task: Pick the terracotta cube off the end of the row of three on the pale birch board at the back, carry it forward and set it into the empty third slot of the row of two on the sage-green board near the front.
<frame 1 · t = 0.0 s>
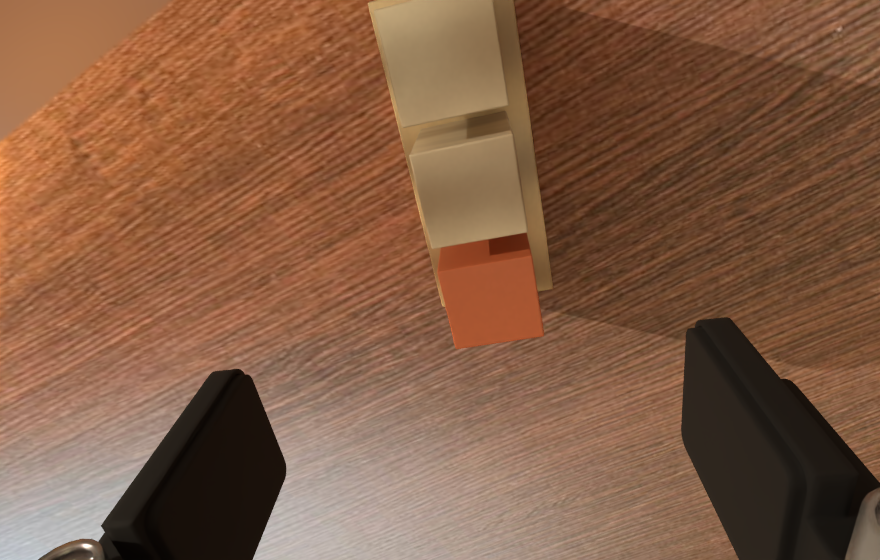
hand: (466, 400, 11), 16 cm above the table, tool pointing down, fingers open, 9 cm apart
terracotta cube: (489, 256, 27), point 1 cm above the table, touching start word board
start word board: (470, 158, 26), on the table
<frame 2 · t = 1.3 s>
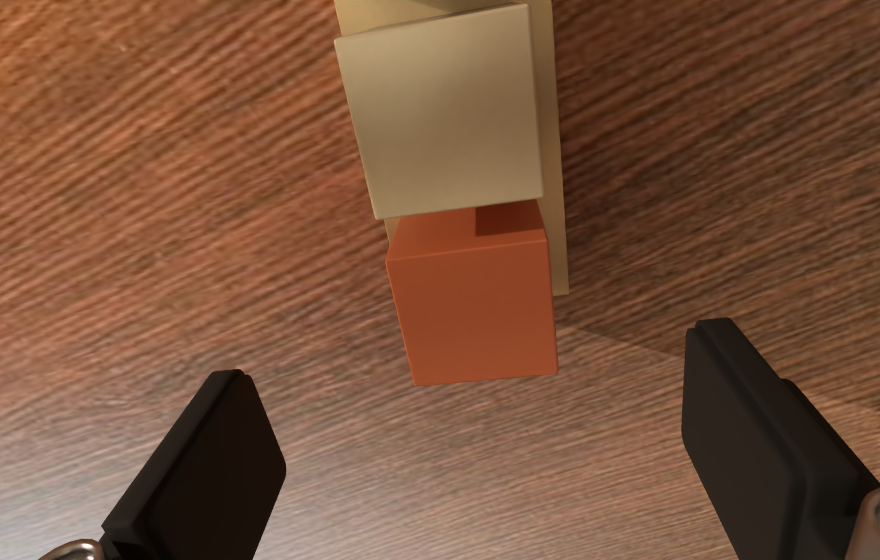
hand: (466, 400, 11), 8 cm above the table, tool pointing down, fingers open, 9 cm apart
terracotta cube: (476, 241, 18), point 1 cm above the table, touching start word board
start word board: (454, 85, 16), on the table
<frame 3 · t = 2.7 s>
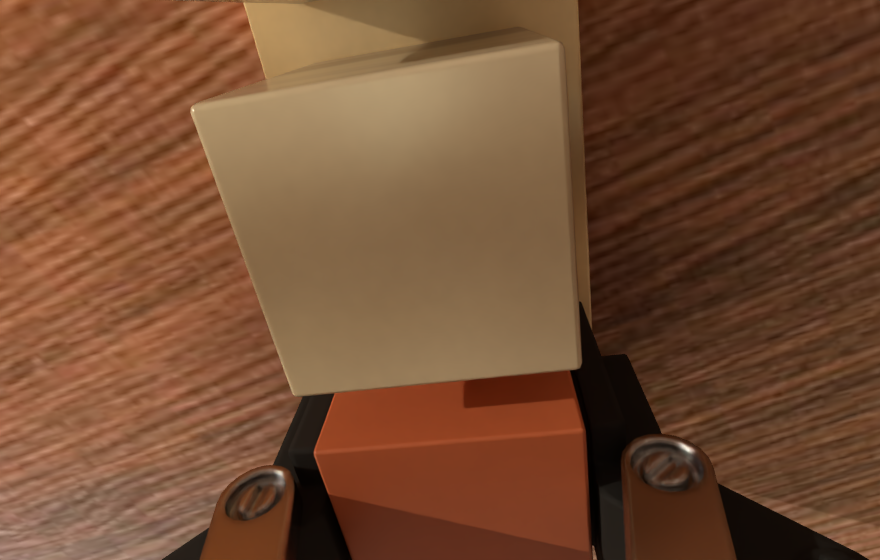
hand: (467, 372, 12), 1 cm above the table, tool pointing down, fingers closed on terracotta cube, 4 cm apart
terracotta cube: (467, 354, 13), point 1 cm above the table, touching gripper, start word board
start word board: (434, 144, 11), on the table
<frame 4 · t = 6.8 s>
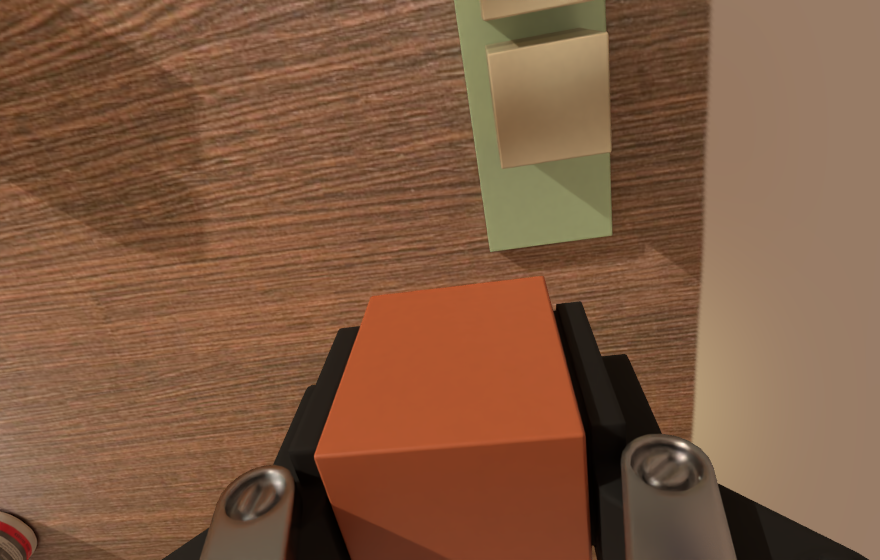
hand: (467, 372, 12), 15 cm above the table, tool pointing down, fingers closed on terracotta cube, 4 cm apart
terracotta cube: (467, 356, 13), point 14 cm above the table, touching gripper
pill bottle: (5, 528, 40), on the table
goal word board: (535, 84, 23), on the table
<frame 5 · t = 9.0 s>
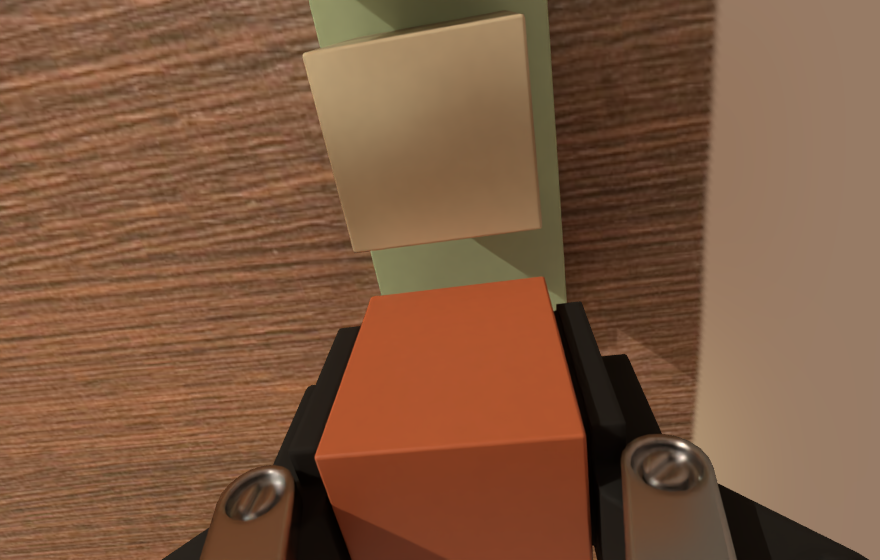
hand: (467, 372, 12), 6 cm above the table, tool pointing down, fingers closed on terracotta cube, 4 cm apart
terracotta cube: (468, 357, 13), point 5 cm above the table, touching gripper
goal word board: (443, 100, 15), on the table
when the fingers open (1 cm above the table, at t = 10.4 s): terracotta cube stays where it is, resting on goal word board.
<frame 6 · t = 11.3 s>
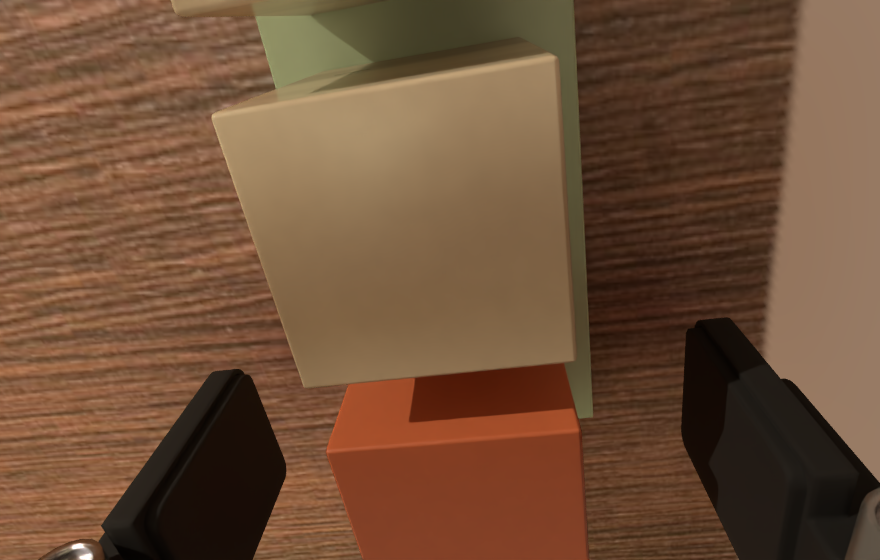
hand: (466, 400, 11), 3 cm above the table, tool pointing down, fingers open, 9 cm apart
terracotta cube: (469, 358, 13), point 1 cm above the table, touching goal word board
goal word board: (437, 149, 12), on the table
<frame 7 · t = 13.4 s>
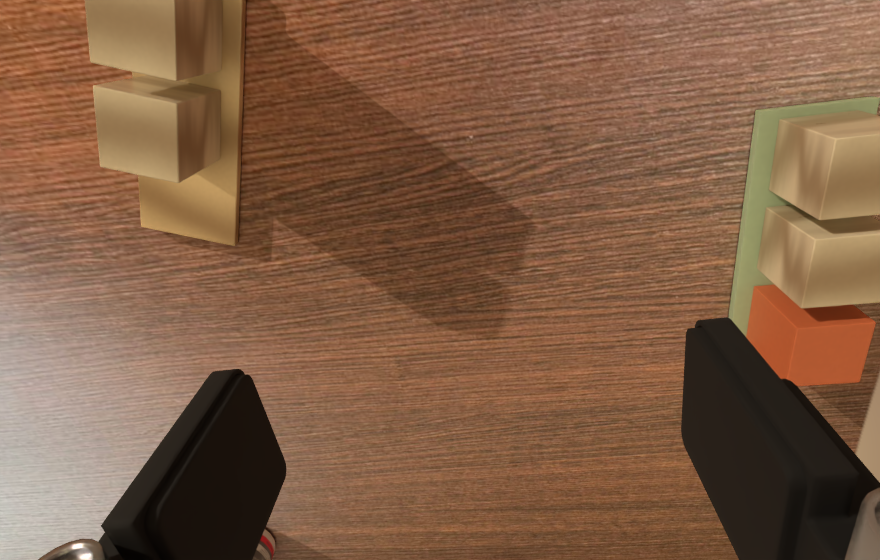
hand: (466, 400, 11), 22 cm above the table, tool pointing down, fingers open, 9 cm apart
terracotta cube: (782, 310, 34), point 1 cm above the table, touching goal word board
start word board: (191, 116, 31), on the table
pill bottle: (247, 536, 48), on the table
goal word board: (790, 231, 32), on the table
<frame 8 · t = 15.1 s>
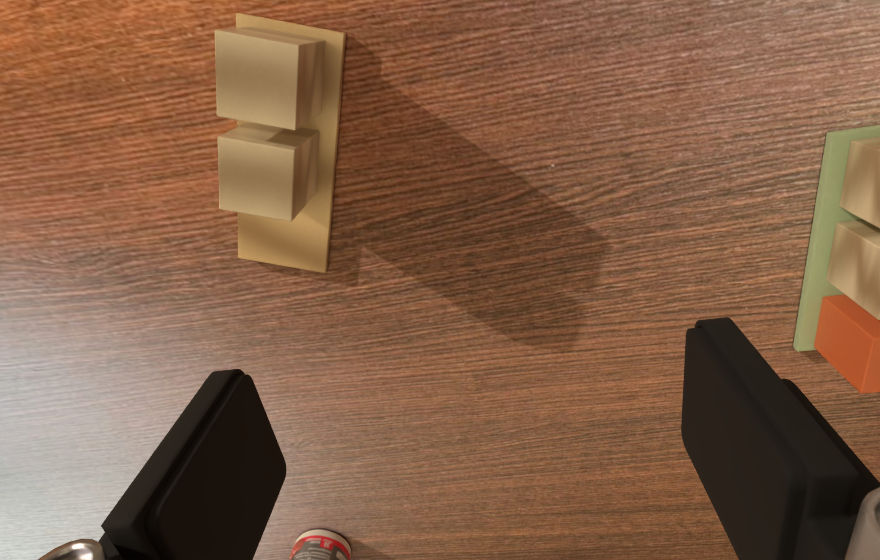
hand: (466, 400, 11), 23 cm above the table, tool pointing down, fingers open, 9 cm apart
terracotta cube: (849, 318, 35), point 1 cm above the table, touching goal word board
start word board: (288, 154, 33), on the table
pill bottle: (324, 544, 50), on the table
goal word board: (858, 243, 33), on the table
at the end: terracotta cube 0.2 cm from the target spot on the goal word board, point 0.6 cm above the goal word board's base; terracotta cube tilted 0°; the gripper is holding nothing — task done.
